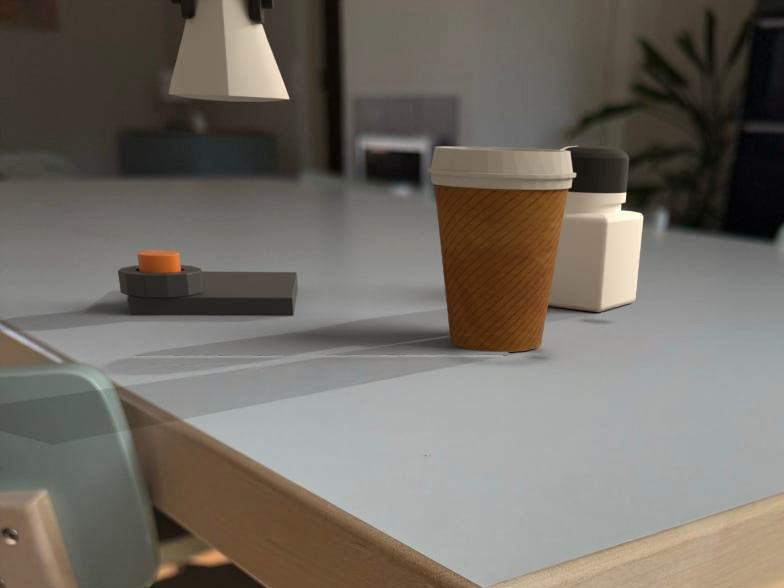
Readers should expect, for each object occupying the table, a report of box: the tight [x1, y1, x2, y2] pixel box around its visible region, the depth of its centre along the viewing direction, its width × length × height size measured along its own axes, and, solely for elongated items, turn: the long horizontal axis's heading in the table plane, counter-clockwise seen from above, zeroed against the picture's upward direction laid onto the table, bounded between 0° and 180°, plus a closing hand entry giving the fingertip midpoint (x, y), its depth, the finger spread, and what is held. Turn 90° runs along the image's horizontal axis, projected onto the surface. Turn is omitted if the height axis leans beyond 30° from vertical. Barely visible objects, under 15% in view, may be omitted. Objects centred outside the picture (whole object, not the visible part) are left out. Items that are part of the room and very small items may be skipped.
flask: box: [168, 0, 290, 103], centre depth 62 cm, size 7×7×10 cm
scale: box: [117, 264, 299, 317], centre depth 79 cm, size 13×14×3 cm
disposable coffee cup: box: [426, 145, 576, 353], centre depth 65 cm, size 10×10×12 cm
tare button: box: [137, 250, 181, 273], centre depth 74 cm, size 3×3×2 cm
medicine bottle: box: [548, 145, 644, 313], centre depth 81 cm, size 7×7×12 cm
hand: (224, 17), depth 62 cm, fingers closed on flask, 3 cm apart
